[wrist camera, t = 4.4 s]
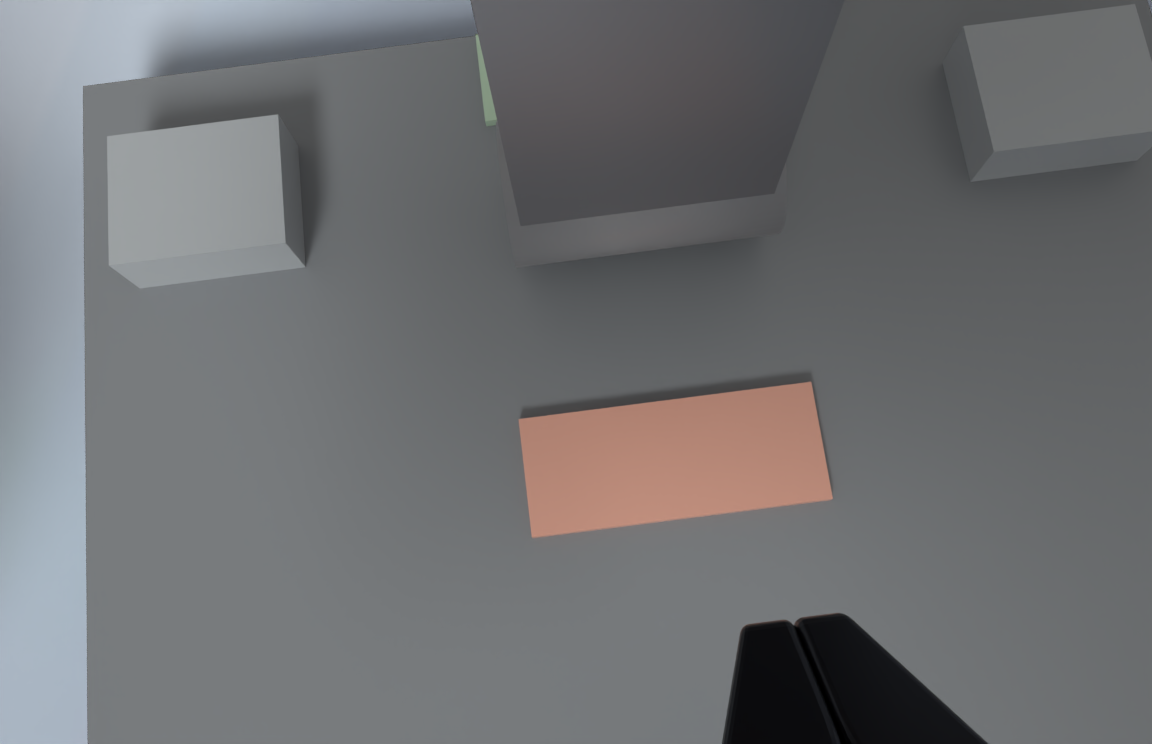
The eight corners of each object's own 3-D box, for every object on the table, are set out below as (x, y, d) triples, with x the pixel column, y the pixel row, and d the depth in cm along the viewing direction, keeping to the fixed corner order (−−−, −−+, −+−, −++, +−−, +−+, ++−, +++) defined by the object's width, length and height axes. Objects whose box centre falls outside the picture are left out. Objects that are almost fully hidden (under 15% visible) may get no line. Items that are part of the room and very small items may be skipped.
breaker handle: (771, 255, 18) (1062, -445, 6) (520, 287, 18) (354, -353, 7) (748, 130, 19) (976, -719, 7) (505, 161, 19) (329, -634, 7)
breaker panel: (1282, 716, 18) (1418, 731, 15) (143, 861, 18) (49, 905, 15) (1087, 11, 22) (1165, -93, 19) (129, 135, 22) (49, 52, 19)
